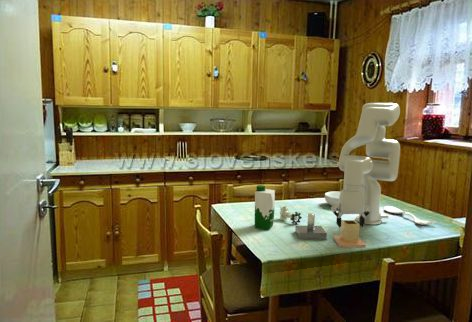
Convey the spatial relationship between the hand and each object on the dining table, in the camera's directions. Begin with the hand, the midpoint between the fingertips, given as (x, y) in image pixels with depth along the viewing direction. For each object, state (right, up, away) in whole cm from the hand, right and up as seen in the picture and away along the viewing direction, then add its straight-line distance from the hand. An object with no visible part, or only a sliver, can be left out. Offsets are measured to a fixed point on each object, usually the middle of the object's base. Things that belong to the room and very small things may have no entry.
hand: (350, 226), depth 165 cm
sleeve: (0, -6, +1) cm, 6 cm away
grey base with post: (-16, -6, +8) cm, 19 cm away
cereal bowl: (+11, +1, +58) cm, 59 cm away
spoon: (+41, -3, +38) cm, 56 cm away
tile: (0, -7, +1) cm, 7 cm away
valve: (-23, -3, +28) cm, 36 cm away
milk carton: (-36, -4, +18) cm, 41 cm away
